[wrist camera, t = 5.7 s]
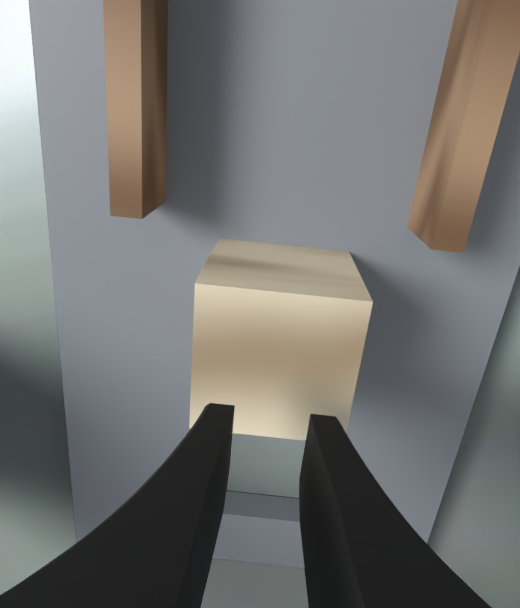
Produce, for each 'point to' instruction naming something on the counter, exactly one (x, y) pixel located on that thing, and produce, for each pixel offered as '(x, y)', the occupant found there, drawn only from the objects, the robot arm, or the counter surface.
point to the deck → (268, 236)
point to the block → (277, 335)
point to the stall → (439, 144)
